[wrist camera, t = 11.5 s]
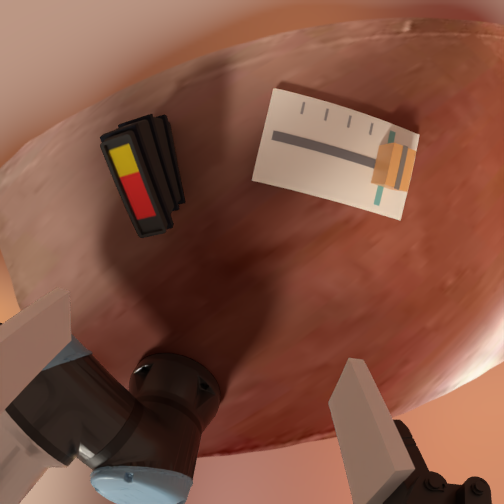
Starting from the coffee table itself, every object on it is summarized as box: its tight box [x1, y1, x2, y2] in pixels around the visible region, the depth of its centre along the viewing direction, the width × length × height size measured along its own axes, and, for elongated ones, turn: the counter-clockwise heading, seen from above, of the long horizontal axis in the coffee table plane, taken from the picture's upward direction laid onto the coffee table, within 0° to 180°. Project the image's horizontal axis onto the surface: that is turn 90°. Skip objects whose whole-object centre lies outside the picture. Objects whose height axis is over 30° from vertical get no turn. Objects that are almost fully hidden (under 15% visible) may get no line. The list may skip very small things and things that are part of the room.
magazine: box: [100, 114, 185, 238], centre depth 34 cm, size 4×13×15 cm, turn 11°
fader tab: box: [371, 143, 416, 192], centre depth 34 cm, size 5×3×5 cm, turn 167°
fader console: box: [252, 88, 419, 220], centre depth 37 cm, size 12×20×2 cm, turn 77°
